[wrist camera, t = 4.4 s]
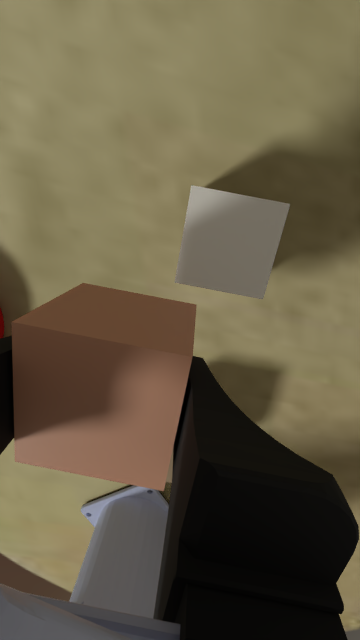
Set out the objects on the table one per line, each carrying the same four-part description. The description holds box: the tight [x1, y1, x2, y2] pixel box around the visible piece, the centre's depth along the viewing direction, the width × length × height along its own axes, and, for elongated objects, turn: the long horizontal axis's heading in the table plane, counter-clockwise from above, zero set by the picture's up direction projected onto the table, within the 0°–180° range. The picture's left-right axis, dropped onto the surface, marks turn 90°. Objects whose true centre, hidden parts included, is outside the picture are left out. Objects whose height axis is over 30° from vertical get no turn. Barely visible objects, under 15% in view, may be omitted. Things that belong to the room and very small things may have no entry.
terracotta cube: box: [11, 283, 196, 491], centre depth 11 cm, size 5×5×5 cm
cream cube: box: [175, 185, 290, 299], centre depth 17 cm, size 5×5×5 cm
